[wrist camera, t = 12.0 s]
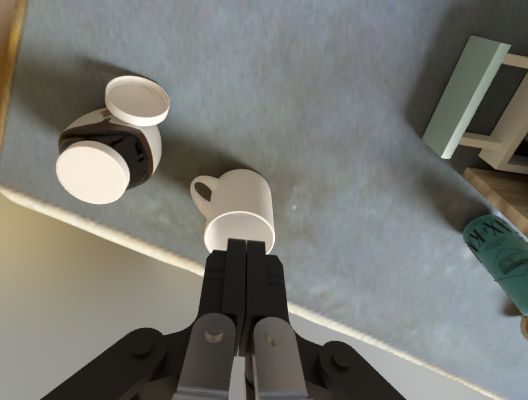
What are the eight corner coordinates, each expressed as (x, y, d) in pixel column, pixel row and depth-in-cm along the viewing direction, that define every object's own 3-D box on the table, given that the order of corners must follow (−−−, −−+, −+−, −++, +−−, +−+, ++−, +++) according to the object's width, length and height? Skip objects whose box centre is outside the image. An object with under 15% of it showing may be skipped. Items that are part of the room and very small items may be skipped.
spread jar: (97, 160, 45) (55, 209, 36) (68, 74, 39) (8, 106, 29) (184, 157, 46) (167, 205, 36) (170, 71, 39) (143, 101, 30)
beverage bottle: (506, 216, 53) (622, 324, 36) (475, 244, 56) (568, 355, 40) (477, 201, 51) (585, 308, 35) (446, 231, 55) (532, 342, 38)
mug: (214, 141, 44) (205, 182, 35) (282, 188, 49) (289, 234, 40) (181, 184, 48) (165, 231, 39) (247, 224, 52) (246, 274, 43)
